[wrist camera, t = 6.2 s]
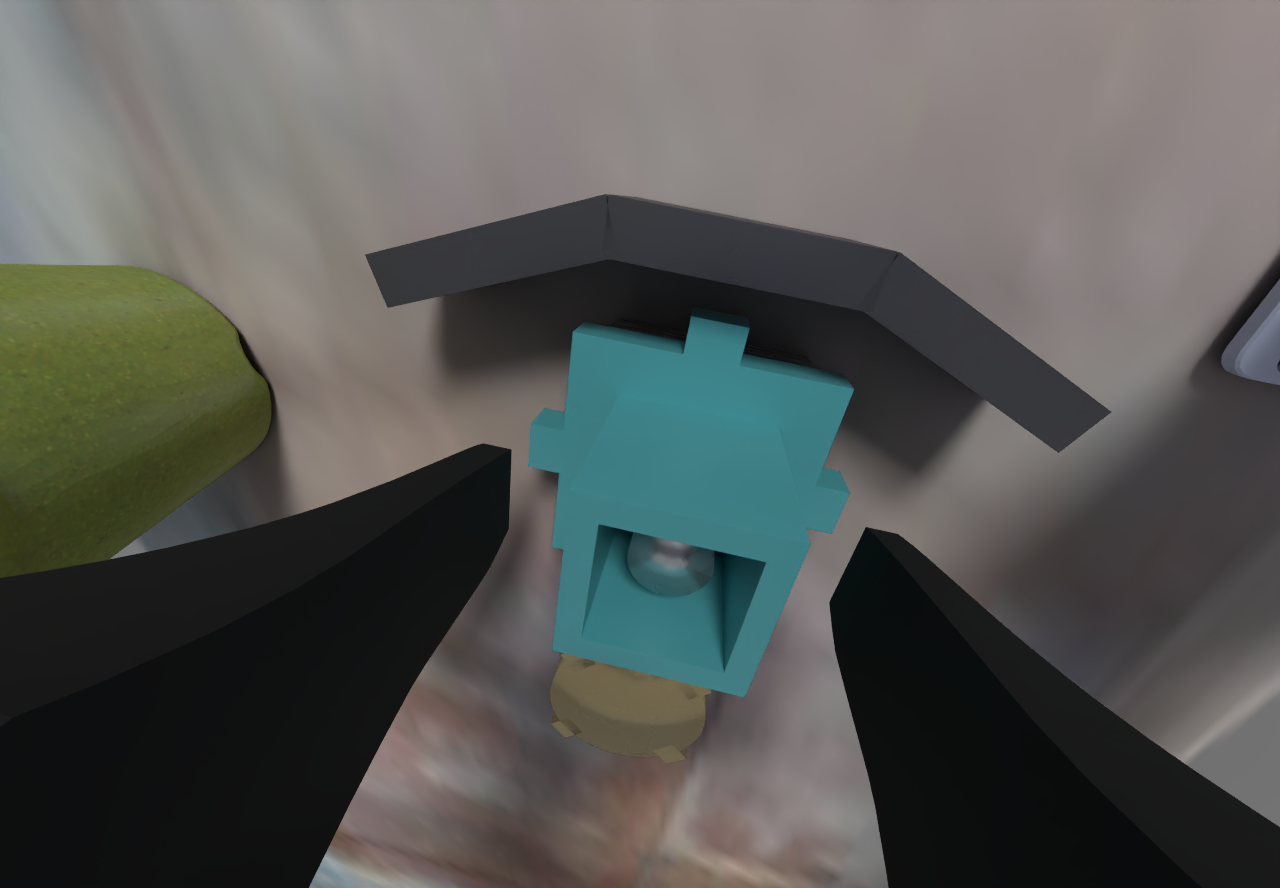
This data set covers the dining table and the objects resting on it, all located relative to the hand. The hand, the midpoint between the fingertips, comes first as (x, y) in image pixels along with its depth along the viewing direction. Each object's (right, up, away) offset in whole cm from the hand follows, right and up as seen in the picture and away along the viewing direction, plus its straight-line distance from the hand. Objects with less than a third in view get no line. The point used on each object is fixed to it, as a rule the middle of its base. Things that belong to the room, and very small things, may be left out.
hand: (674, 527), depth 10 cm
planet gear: (0, +1, +3) cm, 3 cm away
